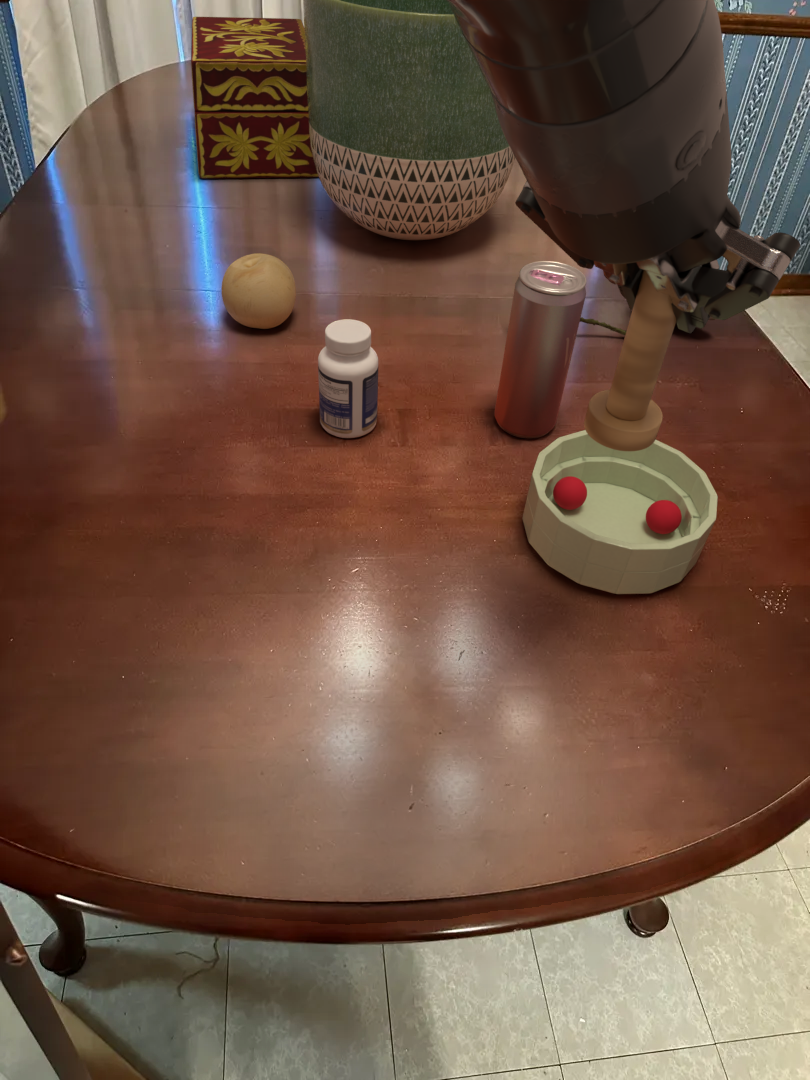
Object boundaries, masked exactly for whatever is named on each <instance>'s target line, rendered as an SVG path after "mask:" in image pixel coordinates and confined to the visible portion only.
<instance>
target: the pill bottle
mask: <svg viewBox="0 0 810 1080" xmlns="http://www.w3.org/2000/svg"><path fill="white" fill-rule="evenodd" d="M324 342H325V343H324V344H325V346H324V347H322V348H321V350H320V352H319V354H318V357H317V370H318V371H317V373H318V401H319V402H318V403H319V423H320V425H321V427H322V428H323V429H324V430H325V431H326V432H327V433H328V434H330V435H332V436H334V437H338V438H342V439H355V438H360V437H362V436H365V435H367V434H369V433H371V432H372V431H373V430H374V429H375V427H376V425H377V422H378V403H379V401H378V398H379V357H378V354H377V352H376V351H375V349H374V348H373V347H372V330H371V327H370V326H369V325H368V324H367V323H366V322H363V321H361V320H356V319H353V318H352V319H351V318H350V319H349V318H347V319H346V318H345V319H338V320H335V321H332V322H331V323H329V324H328V325H327V326H326V327H325V330H324Z"/></svg>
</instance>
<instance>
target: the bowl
mask: <svg viewBox="0 0 810 1080" xmlns="http://www.w3.org/2000/svg"><path fill="white" fill-rule="evenodd" d="M568 476H572V477H576V478H579V479H580V480H581V481H583V483H584V484H585V486H586V488H587V498H586V500H585V502H584V503H583V504H582V505H581V506H580V507H579V508H577V509H573V510H567V509H563V508H561V507H560V506H559V505H557V503H556V502H555V500H554V497H553V490H554V487H555V485H556V483H557V482H558V481H559V480H560V479H562V478H564V477H568ZM526 495H527V496H526V500H525V503H524V510H523V514H522V522H523V527H524V529H525V533H526V537H527V541H528V543H529V545H530V546H531V547H532V548H533V549H534V551H535V552H536V553H537V554H538V555H539V557H540V558H541V559H542V560H543V561H544V563H546V565H547V566H548V567H550V568H551V569H553V570H555V571H556V572H558V573H560V574H561V575H563V576H565V577H566V578H568V579H570V580H571V581H573V582H574V583H577V584H579V585H580V586H584V587H589V588H593V589H595V590H599V591H604V592H607V593H610V594H616V595H636V594H637V595H639V594H640V595H641V594H643V595H644V594H653V593H656V592H658V591H662V590H663V589H666V588H669V587H671V586H673V585H677V584H679V583H680V582H682V581H683V579H684V578H685V577H686V576H687V575H688V573H689V572H691V570H692V569H693V567H694V566H695V565H696V564H697V562H698V560H699V558H700V555H701V554H702V551H703V549H704V547H705V545H706V542H707V540H708V538H709V536H710V534H711V531H712V529H713V527H714V525H715V523H716V520H717V513H718V512H717V511H718V499H719V496H718V494H717V492H716V489H715V488H714V486H713V484H712V483H711V481H710V478H709V477H708V475H707V473H706V472H705V471H704V470H703V468H701V467H699V466H698V465H697V464H696V463H695V462H694V461H693V460H692V459H691V458H689V457H688V456H687V455H686V454H685V453H684V452H682V451H680V450H679V449H676V448H675V447H672V446H670V445H668V444H666V443H664V442H661V441H660V440H658V439H656V440H655V441H654V443H653V444H652V445H651V446H649V447H647V448H645V449H643V450H639V451H619V450H614V449H611V448H608V447H605V446H603V445H601V444H599V443H597V442H596V441H594V440H593V439H592V438H591V437H590V436H589V435H588V434H587V432H586V430H585V429H583V430H579V431H577V432H573V433H569V434H566V435H563V436H559V437H557V438H556V439H555V440H553V441H552V442H551V443H550V444H549V445H547V446H546V447H545V448H543V449H542V450H541V451H540V452H539V453H538V455H537V458H536V461H535V463H534V467H533V470H532V472H531V477H530V481H529V485H528V491H527V494H526ZM659 500H669V501H671V502H673V503H675V504H676V505H677V506H678V507H679V509H680V511H681V515H682V519H681V523H680V525H679V527H678V528H677V529H676V530H675V531H673V532H671V533H668V534H659V533H656V532H654V531H652V530H651V529H650V528H649V526H648V525H647V522H646V512H647V510H648V508H649V507H650V506H651V505H652V504H653V503H654V502H656V501H659Z"/></svg>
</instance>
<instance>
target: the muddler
mask: <svg viewBox="0 0 810 1080" xmlns="http://www.w3.org/2000/svg"><path fill="white" fill-rule="evenodd" d="M671 304H672V301H671V299H670V297H669V295H666V294H663V293H660V292H657V291H656V289H655V287H654V285H653V283H652V281H651V279H650V277H649V276H648V274H647V272H646V270H644V271H643V274H642V278H641V281H640V285H639V288H638V292H637V295H636V299H635V303H634V306H633V310H631V313H630V317H629V321H628V324H627V328H626V330H625V331H626V335H624V339H623V341H622V346H621V349H620V353H619V356H618V360H617V363H616V367H615V371H614V374H613V378H612V381H611V384H610V388H609V389H605V390H601V391H598V392H597V393H595V394H593V396H591V398H590V399H589V401H588V405H587V409H586V412H585V416H584V420H583V427H584V430H586V432H587V434H588V435H589V436H590V437H591V438H592V439H593V440H594V441H596V442H597V443H599V444H601V445H603V446H605V447H608V448H611V449H614V450H619V451H639V450H643V449H645V448H647V447H649V446H651V445H652V444H653V443H654V441H655V440H657V437H658V434H659V431H660V428H661V425H662V423H663V418H664V415H663V412H662V411H663V410H662V409H661V408H660V406H659V405H658V404H657V403H656V402H655V401H654V400H653V399H652V397H653V394H654V391H655V388H656V385H657V381H658V379H659V375H660V373H661V369H662V367H663V364H664V360H665V357H666V354H667V351H668V348H669V345H670V342H671V339H672V336H673V333H674V330H675V327H676V325H677V323H676V317H675V315H674V312H673V309H672V305H671Z"/></svg>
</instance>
